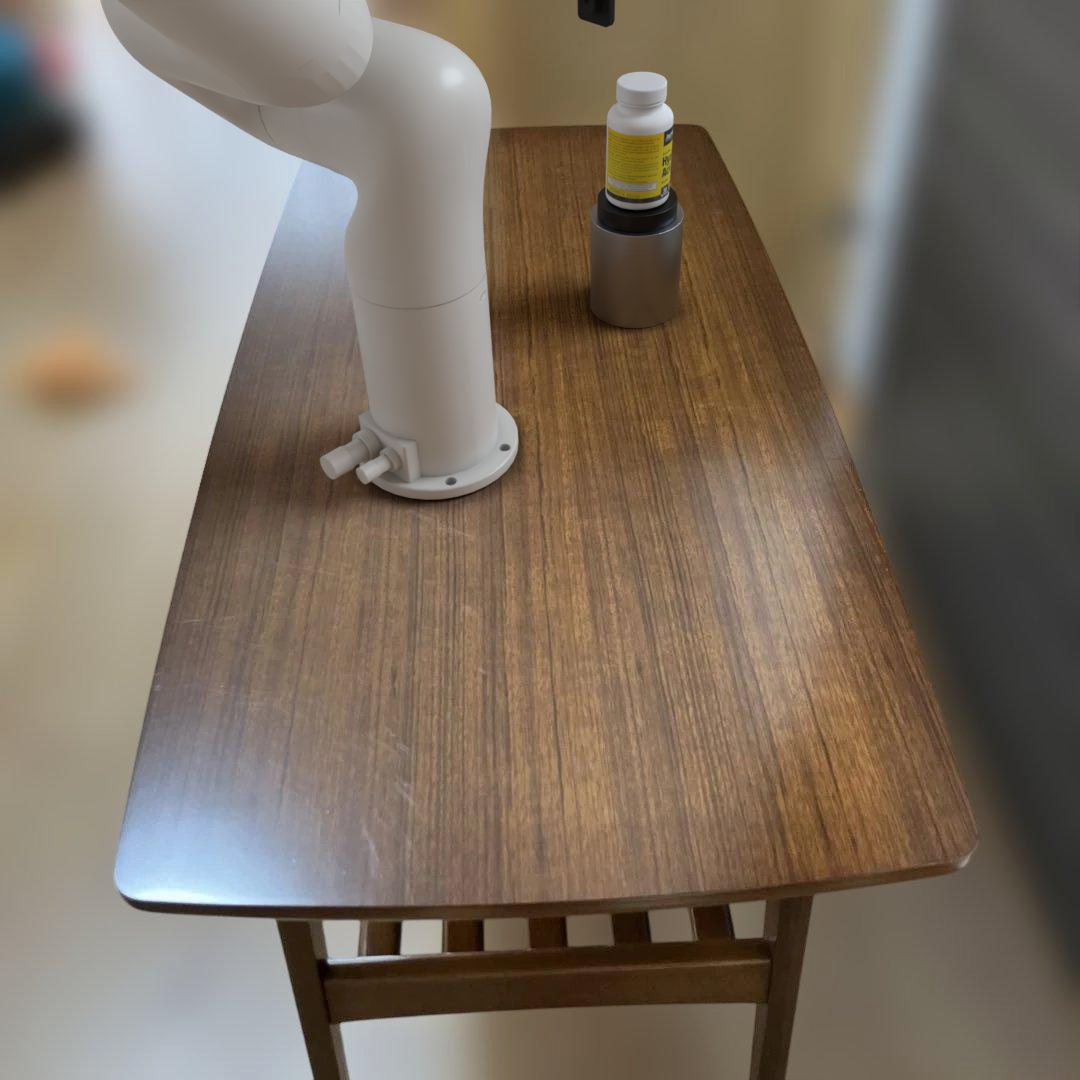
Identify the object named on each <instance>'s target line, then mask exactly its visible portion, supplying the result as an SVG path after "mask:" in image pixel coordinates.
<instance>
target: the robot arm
mask: <svg viewBox="0 0 1080 1080" xmlns="http://www.w3.org/2000/svg"><path fill="white" fill-rule="evenodd" d="M99 1H100V5H101V8H102V11H103V14H104V16H105V19H106V21H107V23H108V25H109V27H110V28H111V31H112V32H113V34H114V36H115V37H116V39H117V40H118V41H119V43H120V44H121V46H122V47H123V48H124V49H125V50H126V51H127V53H128V54H129V55H130V56H131V57H132V59H134V60H135V61H136V62H137V63H139V64H140V65H141V66H142V67H143V68H144V69H146V70H148V72H150V73H152V74H153V75H154V76H156V77H157V78H159V79H160V80H162V81H163V82H165V83H167V84H168V85H170V86H171V87H173V88H174V89H176V90H178V91H179V92H181V93H182V94H184V95H185V96H187V97H188V98H190V99H191V100H193V101H195V102H197V104H199V105H201V106H202V107H204V108H206V109H208V110H209V111H210V112H212V113H214V114H215V115H216V116H219V117H220V118H222V119H223V120H225V121H227V122H228V123H230V124H232V125H233V126H235V127H236V128H238V129H239V130H241V131H243V132H244V133H246V134H248V135H249V136H251V137H253V138H255V139H256V140H258V141H260V142H262V143H264V144H266V145H267V146H269V147H271V148H274V149H276V150H278V151H280V152H283V153H286V154H288V155H290V156H293V157H296V158H298V159H301V160H304V161H307V162H309V163H312V164H314V165H316V166H319V167H322V168H325V169H328V170H330V171H332V172H333V173H335V174H337V175H340V176H343V177H345V178H347V179H349V180H350V181H351V182H352V183H353V184H354V186H355V189H356V191H357V199H356V204H355V206H354V210H353V211H352V214H351V216H350V219H348V220H349V221H348V223H347V226H346V228H345V233H344V236H343V237H344V239H343V258H344V259H343V260H344V266H345V272H346V280H347V284H348V285H349V291H350V299H351V304H352V309H353V315H354V321H355V327H356V334H357V341H358V346H359V351H360V352H359V353H360V357H361V364H362V369H363V375H364V381H365V388H366V394H367V398H368V399H367V400H368V406H369V409H367V410H366V411H363V412H362V413H361V414H359V415H358V424H359V427H360V430H358V431H356V432H355V433H353V435H352V436H351V441H349V442H348V443H346V444H345V445H342V446H341V445H340V446H338V447H336V448H335V449H333V450H331V451H328V453H325V454H323V455H322V456H320V458H319V463H320V466H321V469H322V471H323V473H324V474H325V475H326V476H327V477H328V478H329V479H330V480H333V481H335V480H337V479H338V478H340V477H342V476H343V475H346V474H347V473H349V472H350V471H352V470H354V469H355V474H356V476H357V478H358V480H359V481H360V482H361V483H362V484H363V485H367V484H369V483H371V482H372V484H374V485H376V486H377V487H378V488H380V489H382V490H384V491H386V492H388V493H391V494H393V495H396V496H399V497H404V498H409V499H416V500H423V501H424V500H426V501H427V500H428V501H429V500H445V499H451V498H458V497H461V496H464V495H468V494H473V493H475V492H477V491H479V490H481V489H483V488H485V487H487V486H489V485H491V484H492V483H494V482H495V481H497V480H498V479H499V478H501V476H503V475H504V474H505V473H506V472H507V471H508V470H509V469H510V467H511V466H512V464H513V463H514V461H515V459H516V457H517V454H518V452H519V443H520V442H519V432H518V426H517V424H516V421H515V419H514V417H513V416H512V415H511V413H510V412H509V411H508V410H507V408H504V406H502V405H501V404H499V403H498V402H497V399H496V385H495V383H496V382H495V372H494V369H495V368H494V355H493V344H492V342H493V341H492V329H491V317H490V301H489V300H490V299H489V286H488V274H487V273H488V272H487V265H486V251H485V233H484V232H485V231H484V191H485V190H484V188H485V187H484V186H485V176H486V169H487V168H486V167H487V159H488V152H489V145H490V139H491V130H492V111H493V110H492V100H491V95H490V94H491V93H490V90H489V87H488V84H487V82H486V80H485V78H484V75H483V73H482V72H481V70H480V69H479V67H478V66H477V65H476V63H475V62H474V61H473V60H472V59H471V58H470V56H468V55H467V54H466V53H465V52H464V51H463V50H461V49H460V48H459V47H458V46H456V45H454V44H453V43H451V42H450V41H448V40H445V38H442V37H441V36H440V37H439V36H437V35H435V34H433V33H429V32H427V31H425V30H421V29H419V28H415V27H412V26H408V25H405V24H401V23H398V22H393V21H390V20H386V19H382V18H378V17H374V16H371V12H370V9H369V6H368V3H367V1H366V0H99ZM615 12H616V0H577V17H578V19H580V20H581V21H585V22H587V23H591V24H594V25H597V26H600V27H603V28H608V27H611V26H613V25H614V23H615V17H616V15H615V14H616V13H615ZM358 465H359V467H357V468H355V467H356V466H358Z"/></svg>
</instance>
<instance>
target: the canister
mask: <svg viewBox="0 0 1080 1080" xmlns="http://www.w3.org/2000/svg"><path fill="white" fill-rule="evenodd" d="M678 199H679V197H678V194H677V192H676V190H675V189H674V188H672V187H671V186H670V188H669V196H668V198H667V200H666V201H665V202H664V203H663V204H661V205H659V206H657V207H655V208H651V209H644V210H630V209H624V208H620V207H618V206H615V205H614V204H612V203H611V202H610V201H609V200H608V199H607V197H606V186H604V187H603V188H602V189H601V190H600V191H599V192H598V194H597V197H596V201H597V202H596V203H595V204H594V205H593V206H592V208H591V210H590V213H589V215H590V216H589V217H590V218H589V220H590V221H589V225H590V227H589V229H590V230H589V237H590V238H589V239H590V242H589V248H590V249H589V251H590V252H589V254H590V255H589V271H590V273H589V301H590V302H589V305H590V310H591V312H592V313H593V315H594V316H595V318H597V319H599V320H600V321H601V322H604V323H606V324H608V325H611V326H613V327H618V328H623V329H646V328H652V327H656V326H659V325H661V324H664V323H665V322H668V321H669V320H670V319H672V318H673V317H674V316H675V314H676V313H677V311H678V309H679V301H680V300H679V299H680V283H681V269H682V253H683V237H684V222H685V220H684V219H685V212H684V209H683V207H682V206H681V205H680V204H679V203H678V202H679V200H678Z"/></svg>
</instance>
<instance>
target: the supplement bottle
mask: <svg viewBox="0 0 1080 1080" xmlns="http://www.w3.org/2000/svg"><path fill="white" fill-rule="evenodd" d="M615 86H616V89H615V91H616V92H615V95H616V96H615V100H616V103H614V104H613V105H612V106H611V107H610V109H609V110H608V112H607V116H606V150H605V151H606V152H605V153H606V155H605V159H606V160H605V161H606V162H605V187H606V197H607V199H608V200H609V201H610V202H611V203H612V204H614V205H615V206H618V207H620V208H624V209H630V210H644V209H651V208H655V207H657V206H659V205H661V204H663V203H664V202H665V201H666V200H667V198H668V196H669V188H670V187H671V186H670V185H671V171H672V170H671V169H672V155H673V153H672V152H673V139H674V138H673V137H674V136H673V135H674V117H675V116H674V113H673V110H672V108H671V107H670V106H669V105H668V104H666V103H665V102H666V100H667V96H668V80H667V78H666V77H665V76H663V75H662V74H659V73H656V72H651V71H633V72H632V71H631V72H628V73H625V74H622V75H621V76H619V77H618V78H617V80H616V85H615Z"/></svg>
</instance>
